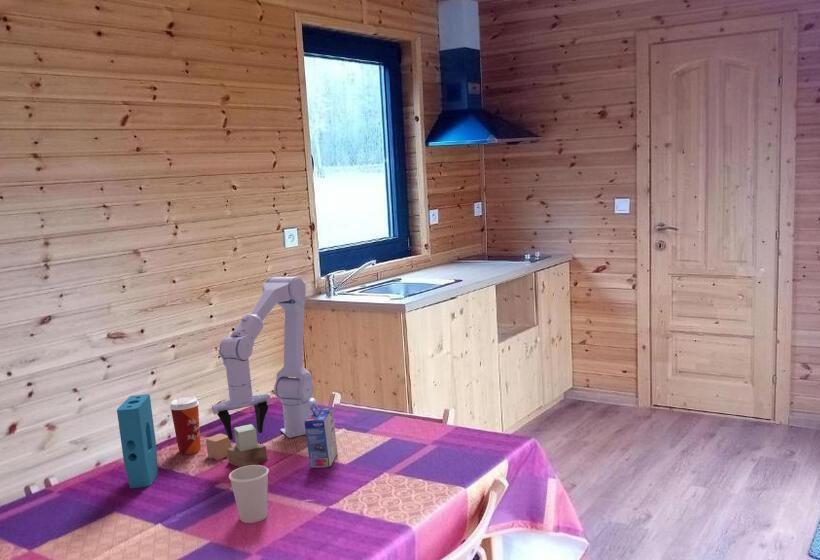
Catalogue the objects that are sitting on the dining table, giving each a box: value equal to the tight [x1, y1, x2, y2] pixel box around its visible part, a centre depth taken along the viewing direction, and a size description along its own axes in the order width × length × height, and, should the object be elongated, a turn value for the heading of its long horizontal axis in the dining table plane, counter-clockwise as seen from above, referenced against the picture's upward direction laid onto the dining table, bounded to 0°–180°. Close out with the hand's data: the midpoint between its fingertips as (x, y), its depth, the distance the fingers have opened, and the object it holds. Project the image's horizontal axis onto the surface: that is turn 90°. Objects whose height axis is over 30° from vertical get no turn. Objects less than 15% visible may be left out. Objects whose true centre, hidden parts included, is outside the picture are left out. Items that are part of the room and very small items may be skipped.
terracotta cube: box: [205, 433, 232, 461], centre depth 202 cm, size 4×4×5 cm
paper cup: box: [169, 396, 201, 455], centre depth 207 cm, size 8×8×14 cm
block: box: [116, 393, 159, 489], centre depth 188 cm, size 12×5×20 cm, turn 4°
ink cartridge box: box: [304, 403, 338, 469], centre depth 192 cm, size 10×6×14 cm, turn 174°
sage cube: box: [233, 423, 259, 452], centre depth 196 cm, size 4×4×5 cm
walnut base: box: [227, 442, 268, 468], centre depth 196 cm, size 7×7×4 cm
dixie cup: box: [228, 464, 270, 524], centre depth 163 cm, size 8×8×10 cm
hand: (245, 435), depth 196 cm, fingers open, 7 cm apart
